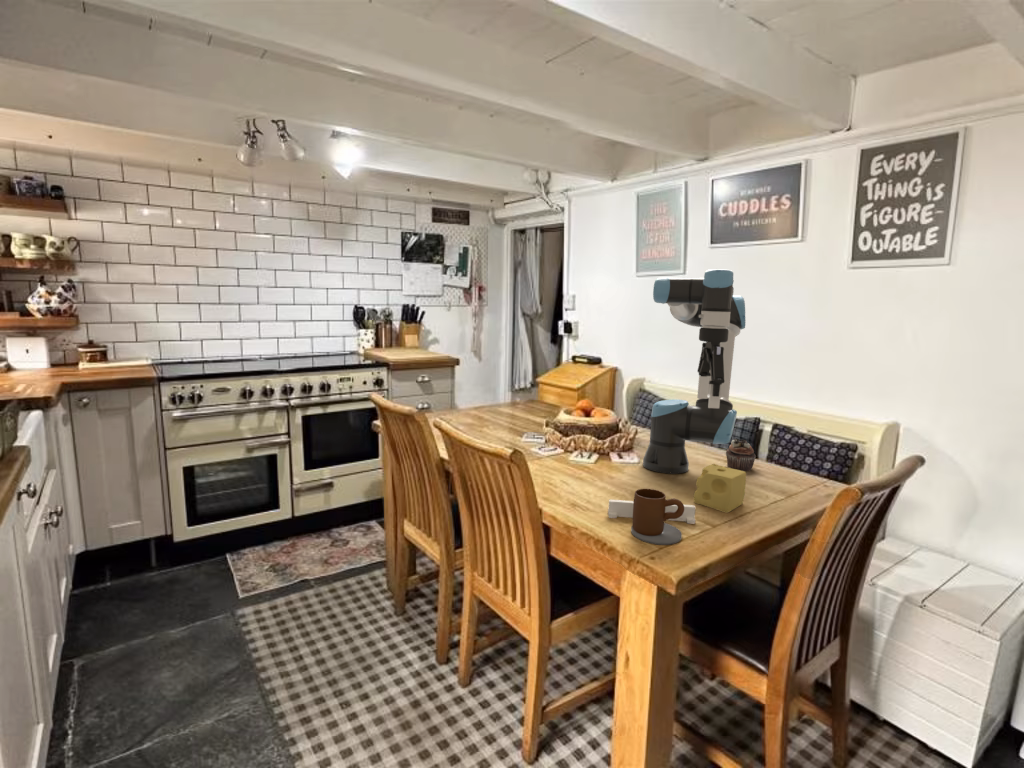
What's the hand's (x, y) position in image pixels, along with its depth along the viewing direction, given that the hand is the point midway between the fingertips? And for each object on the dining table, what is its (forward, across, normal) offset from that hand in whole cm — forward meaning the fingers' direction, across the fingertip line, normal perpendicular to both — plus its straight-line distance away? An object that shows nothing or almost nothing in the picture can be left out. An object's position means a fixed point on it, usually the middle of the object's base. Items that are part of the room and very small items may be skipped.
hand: (707, 403), depth 153 cm
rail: (+28, +16, -16) cm, 36 cm away
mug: (+28, +27, -16) cm, 42 cm away
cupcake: (+29, -35, +21) cm, 50 cm away
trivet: (+28, +26, -16) cm, 42 cm away
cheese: (+29, +2, +5) cm, 29 cm away
